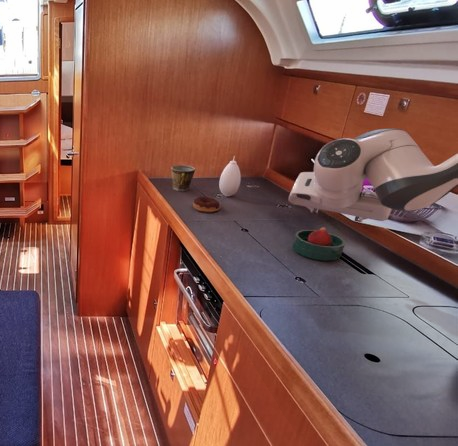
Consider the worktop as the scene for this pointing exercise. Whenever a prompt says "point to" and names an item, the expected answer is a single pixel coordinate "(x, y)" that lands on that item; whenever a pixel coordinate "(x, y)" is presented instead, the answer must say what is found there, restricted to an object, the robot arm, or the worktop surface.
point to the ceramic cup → (182, 177)
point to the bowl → (318, 247)
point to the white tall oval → (230, 179)
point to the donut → (206, 204)
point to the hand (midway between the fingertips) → (336, 214)
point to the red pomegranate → (320, 237)
